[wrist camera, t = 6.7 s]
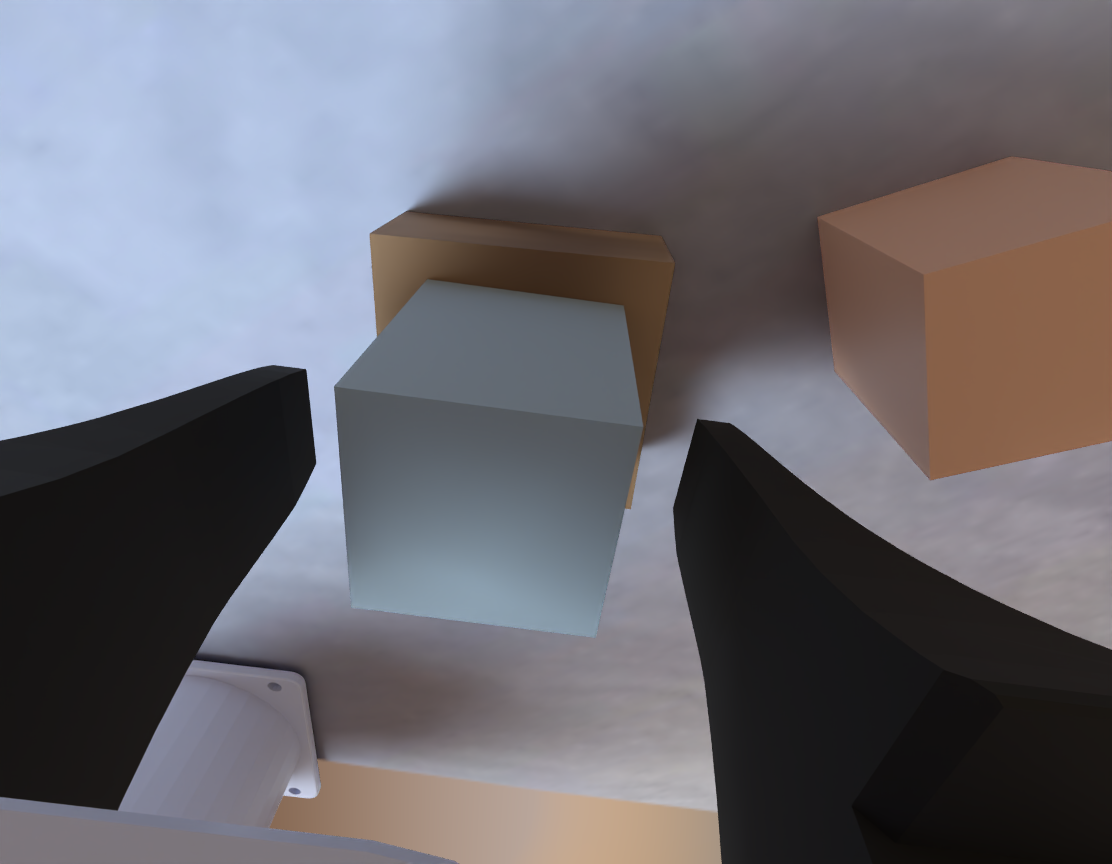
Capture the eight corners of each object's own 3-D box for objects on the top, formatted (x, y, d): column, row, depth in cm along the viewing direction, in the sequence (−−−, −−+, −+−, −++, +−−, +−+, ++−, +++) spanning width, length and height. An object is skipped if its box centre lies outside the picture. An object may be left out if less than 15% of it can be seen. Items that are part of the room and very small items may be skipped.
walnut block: (418, 426, 17) (387, 485, 14) (410, 208, 14) (369, 233, 12) (624, 446, 17) (630, 509, 14) (659, 232, 14) (674, 263, 11)
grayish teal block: (425, 446, 14) (351, 607, 10) (427, 279, 12) (333, 386, 8) (593, 468, 14) (595, 637, 10) (623, 305, 12) (643, 427, 8)
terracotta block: (833, 370, 15) (930, 480, 11) (816, 216, 13) (923, 274, 9) (1004, 326, 14) (1180, 426, 10) (1010, 156, 13) (1228, 188, 8)
